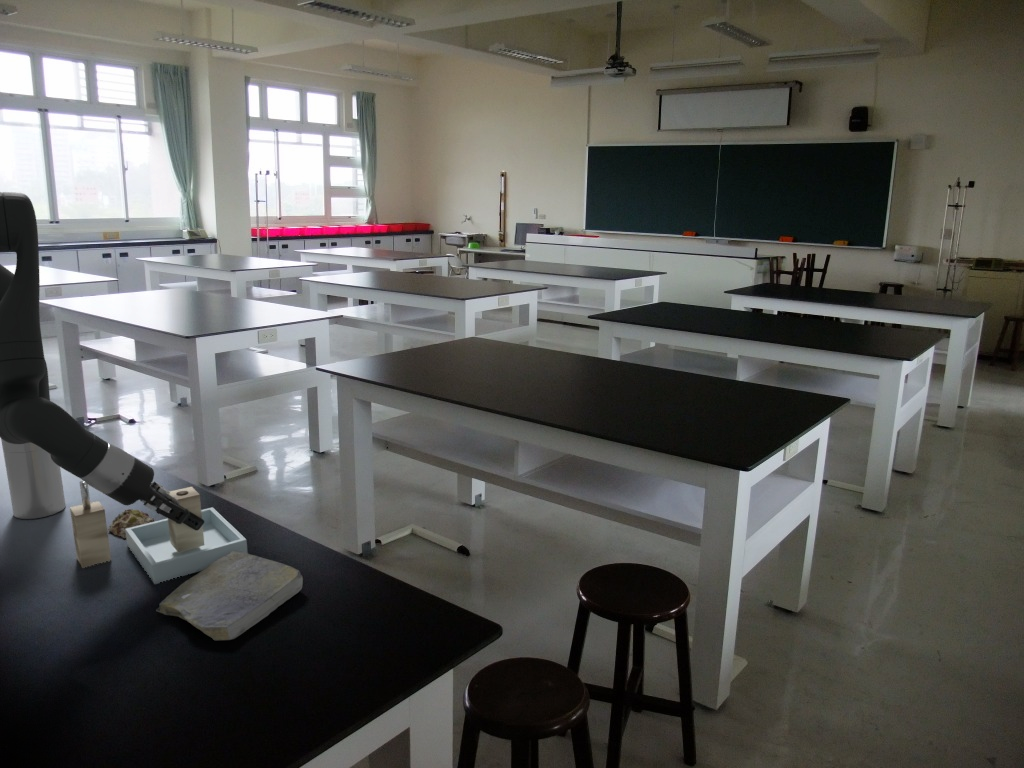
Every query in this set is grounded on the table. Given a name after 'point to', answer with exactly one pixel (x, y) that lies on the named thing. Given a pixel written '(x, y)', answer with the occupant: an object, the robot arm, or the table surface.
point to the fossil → (232, 594)
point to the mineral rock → (129, 521)
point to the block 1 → (90, 530)
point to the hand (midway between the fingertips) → (195, 520)
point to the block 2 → (181, 533)
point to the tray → (168, 563)
